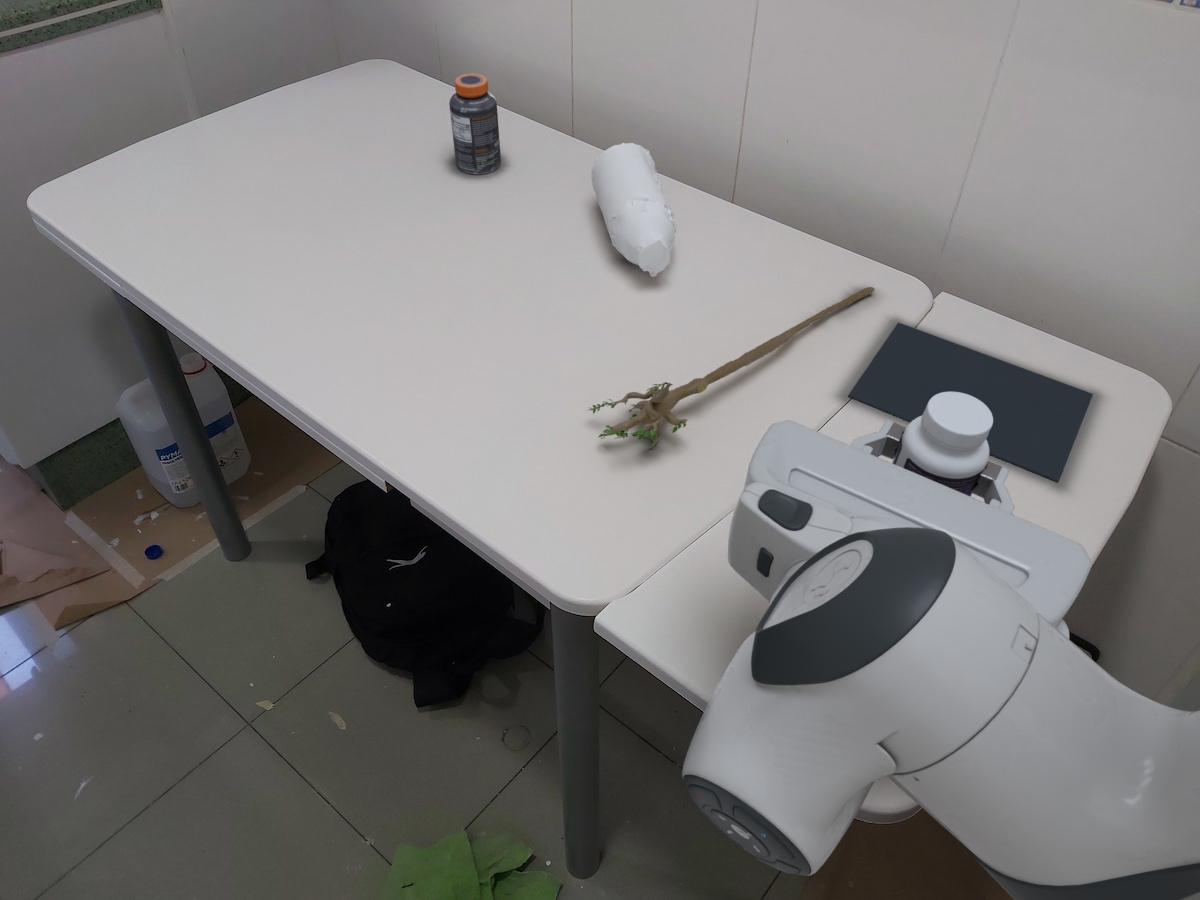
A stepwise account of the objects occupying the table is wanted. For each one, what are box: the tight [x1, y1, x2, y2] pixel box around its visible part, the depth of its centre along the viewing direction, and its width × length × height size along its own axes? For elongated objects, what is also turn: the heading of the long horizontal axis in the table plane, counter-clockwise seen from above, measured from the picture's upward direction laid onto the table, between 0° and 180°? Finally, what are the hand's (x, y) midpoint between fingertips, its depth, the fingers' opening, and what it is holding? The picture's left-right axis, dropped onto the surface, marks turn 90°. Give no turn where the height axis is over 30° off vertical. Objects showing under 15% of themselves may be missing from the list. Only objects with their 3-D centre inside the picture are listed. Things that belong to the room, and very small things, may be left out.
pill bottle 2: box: [891, 392, 993, 497], centre depth 58 cm, size 5×5×10 cm
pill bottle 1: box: [448, 72, 502, 175], centre depth 112 cm, size 6×6×11 cm
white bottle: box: [591, 141, 678, 278], centre depth 101 cm, size 8×19×8 cm, turn 9°
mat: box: [847, 321, 1094, 483], centre depth 86 cm, size 20×14×1 cm
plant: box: [585, 286, 875, 451], centre depth 85 cm, size 39×8×8 cm, turn 125°
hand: (943, 450), depth 58 cm, fingers closed on pill bottle 2, 5 cm apart
